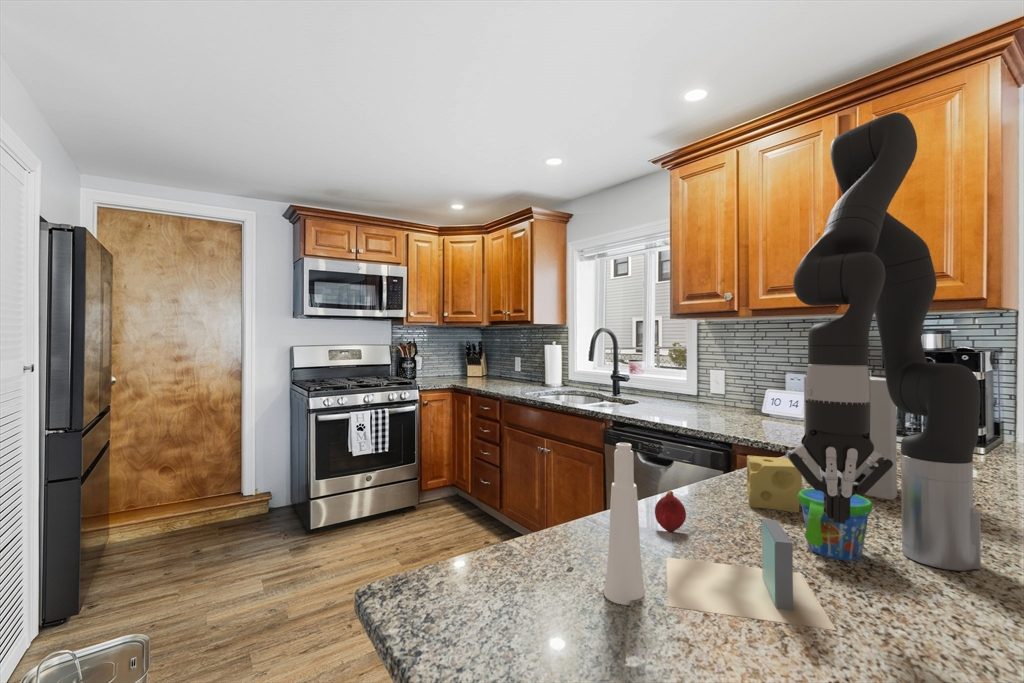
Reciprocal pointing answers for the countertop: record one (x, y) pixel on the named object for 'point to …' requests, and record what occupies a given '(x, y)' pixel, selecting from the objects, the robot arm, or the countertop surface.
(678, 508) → the onion
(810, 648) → the countertop surface
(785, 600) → the block
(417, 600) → the countertop surface
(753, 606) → the board
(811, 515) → the snack cup
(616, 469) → the cosmetic bottle
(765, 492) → the cheese
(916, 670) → the countertop surface
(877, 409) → the white grooved panel
